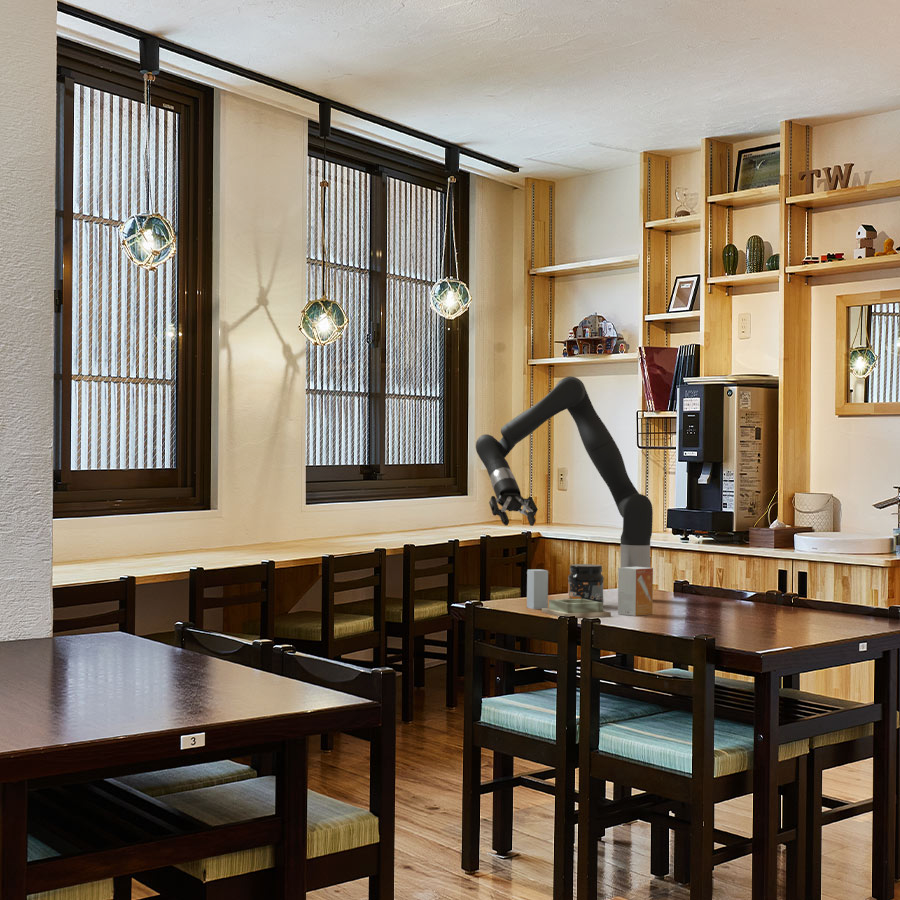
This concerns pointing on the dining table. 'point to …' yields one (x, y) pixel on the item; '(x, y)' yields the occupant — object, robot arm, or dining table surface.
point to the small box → (635, 591)
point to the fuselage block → (537, 589)
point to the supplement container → (585, 582)
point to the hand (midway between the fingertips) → (520, 523)
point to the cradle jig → (576, 608)
